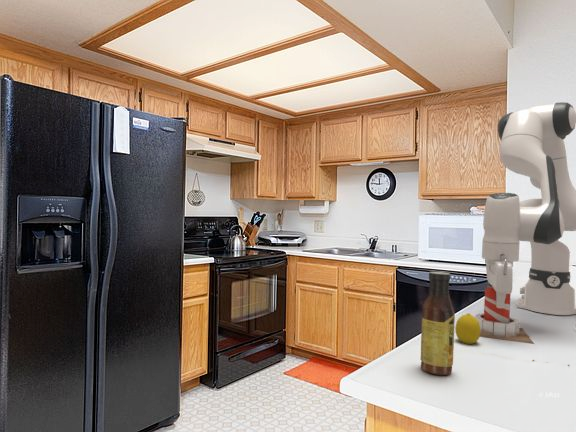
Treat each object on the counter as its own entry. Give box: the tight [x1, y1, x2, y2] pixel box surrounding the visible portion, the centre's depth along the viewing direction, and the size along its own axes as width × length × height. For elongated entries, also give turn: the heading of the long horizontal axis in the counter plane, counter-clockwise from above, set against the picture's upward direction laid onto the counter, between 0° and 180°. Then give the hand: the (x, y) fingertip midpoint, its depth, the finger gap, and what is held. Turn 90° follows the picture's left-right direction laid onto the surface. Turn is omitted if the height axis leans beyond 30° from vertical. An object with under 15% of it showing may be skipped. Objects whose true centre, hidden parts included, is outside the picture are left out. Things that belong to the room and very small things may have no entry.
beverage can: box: [483, 284, 511, 323], centre depth 109 cm, size 6×6×12 cm
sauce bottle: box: [420, 271, 456, 376], centre depth 83 cm, size 7×6×20 cm
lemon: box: [454, 313, 481, 345], centre depth 99 cm, size 6×6×8 cm
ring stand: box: [479, 327, 535, 345], centre depth 109 cm, size 15×15×1 cm
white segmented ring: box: [474, 312, 521, 337], centre depth 109 cm, size 10×10×4 cm
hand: (497, 304), depth 109 cm, fingers open, 7 cm apart
